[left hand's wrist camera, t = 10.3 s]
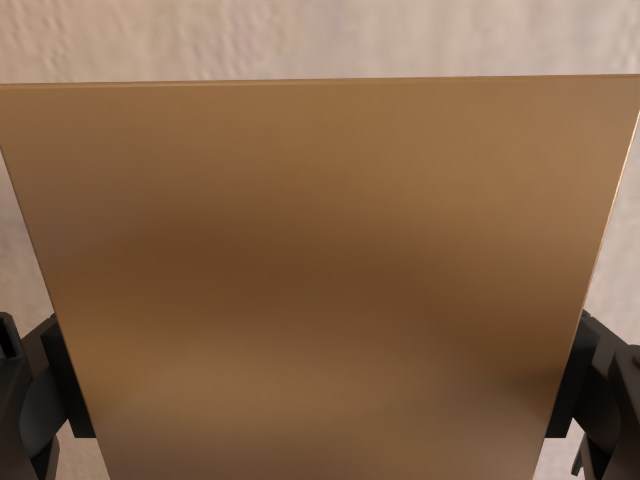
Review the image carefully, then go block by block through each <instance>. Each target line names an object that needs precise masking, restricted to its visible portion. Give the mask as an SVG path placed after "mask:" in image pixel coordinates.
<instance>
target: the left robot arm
mask: <svg viewBox="0 0 640 480" xmlns="http://www.w3.org/2000/svg"><path fill="white" fill-rule="evenodd" d="M572 418H574V419H575V420H576V421H577V423H578V424H579V425H580V427H581V428H582V429H583V430H584V432H585V433H584V436H583V439H582V442H581V444H580V447H579V450H578V452H577V455H576V458H575V460H574V463H573V466H572V471H571V474H572V475H575V476H578V473H579V470H580V468H581V467H583V469H584V475H585V480H640V346H639V345H628V344H627V343H625V342H624V341H623V340H622V339H620V338H619V337H618V336H617V335H615V334H614V333H613V332H612V331H610V330H609V329H608V328H607V327H605V326H604V325H603V324H602V323H600V322H599V321H598V320H597V319H595V318H594V317H591V316H590V314H589V313H588V312H587V311H585V310H584V309H583V311H582V314H581V317H580V321H579V324H578V327H577V331H576V334H575V338H574V341H573V344H572V348H571V351H570V354H569V358H568V361H567V364H566V368H565V371H564V375H563V378H562V381H561V385H560V388H559V391H558V395H557V398H556V401H555V405H554V408H553V412H552V415H551V418H550V422H549V425H548V428H547V432H546V435H545V438H566V435H567V432H568V429H569V427H570V424H571V421H572ZM67 419H68V420H69V422H70V425H71V428H72V431H73V434H74V437H75V438H96V435H95V432H94V429H93V426H92V423H91V420H90V417H89V414H88V411H87V408H86V405H85V402H84V399H83V396H82V393H81V390H80V387H79V384H78V381H77V378H76V375H75V372H74V369H73V366H72V363H71V360H70V357H69V354H68V351H67V348H66V345H65V342H64V339H63V336H62V333H61V330H60V327H59V324H58V321H57V318H56V315H55V313H53V314H52V315H51V316H50V318H47V319H46V320H45V321H44V322H42V323H41V324H40V325H39V326H37V327H36V328H35V329H34V330H32V331H31V332H30V333H29V334H27V335H26V336H25V337H24V338H22V339H20V336H19V334H18V331H17V328H16V326H15V323H14V320H13V317H12V315H10V314H8V313H6V312H0V480H55V476H56V470H57V464H58V457H59V451H60V448H59V442H58V439H57V436H56V433H57V432H58V430H59V429H60V428H61V427H62V425H63V424H64V423H65V421H66V420H67Z"/></svg>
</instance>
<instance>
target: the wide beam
mask: <svg viewBox="0 0 640 480" xmlns="http://www.w3.org/2000/svg"><path fill="white" fill-rule="evenodd" d="M639 119H640V74H608V75H543V76H478V77H413V78H348V79H283V80H218V81H153V82H88V83H22V84H0V150H1V153H2V156H3V159H4V162H5V165H6V168H7V171H8V174H9V177H10V180H11V183H12V186H13V189H14V192H15V195H16V198H17V201H18V204H19V207H20V210H21V213H22V216H23V219H24V222H25V225H26V228H27V231H28V234H29V237H30V240H31V243H32V246H33V249H34V252H35V255H36V258H37V261H38V264H39V267H40V270H41V273H42V276H43V279H44V282H45V285H46V288H47V291H48V294H49V297H50V300H51V303H52V306H53V309H54V312H55V315H56V318H57V321H58V324H59V327H60V330H61V333H62V336H63V339H64V342H65V345H66V348H67V351H68V354H69V357H70V360H71V363H72V366H73V369H74V372H75V375H76V378H77V381H78V384H79V387H80V390H81V393H82V396H83V399H84V402H85V405H86V408H87V411H88V414H89V417H90V420H91V423H92V426H93V429H94V432H95V435H96V438H97V441H98V444H99V447H100V450H101V453H102V456H103V459H104V462H105V465H106V468H107V471H108V474H109V477H110V480H532V479H533V475H534V472H535V469H536V465H537V462H538V459H539V455H540V452H541V448H542V445H543V442H544V438H545V435H546V432H547V428H548V425H549V422H550V418H551V415H552V412H553V408H554V405H555V401H556V398H557V395H558V391H559V388H560V385H561V381H562V378H563V375H564V371H565V368H566V364H567V361H568V358H569V354H570V351H571V348H572V344H573V341H574V338H575V334H576V331H577V327H578V324H579V321H580V317H581V314H582V311H583V307H584V304H585V301H586V297H587V294H588V290H589V287H590V284H591V280H592V277H593V274H594V270H595V267H596V264H597V260H598V257H599V253H600V250H601V247H602V243H603V240H604V237H605V233H606V230H607V227H608V223H609V220H610V216H611V213H612V210H613V206H614V203H615V200H616V196H617V193H618V190H619V186H620V183H621V180H622V176H623V173H624V169H625V166H626V163H627V159H628V156H629V153H630V149H631V146H632V143H633V139H634V136H635V132H636V129H637V126H638V122H639Z"/></svg>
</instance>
